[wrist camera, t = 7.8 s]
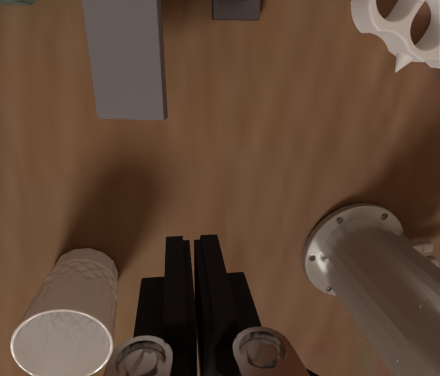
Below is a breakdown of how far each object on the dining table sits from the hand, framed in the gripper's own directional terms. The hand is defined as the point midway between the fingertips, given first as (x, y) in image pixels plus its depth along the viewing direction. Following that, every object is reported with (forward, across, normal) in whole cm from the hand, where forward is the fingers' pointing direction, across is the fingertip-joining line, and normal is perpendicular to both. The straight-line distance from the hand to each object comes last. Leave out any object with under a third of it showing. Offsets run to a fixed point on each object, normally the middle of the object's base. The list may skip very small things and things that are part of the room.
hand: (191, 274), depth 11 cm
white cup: (+24, +10, +16) cm, 30 cm away
